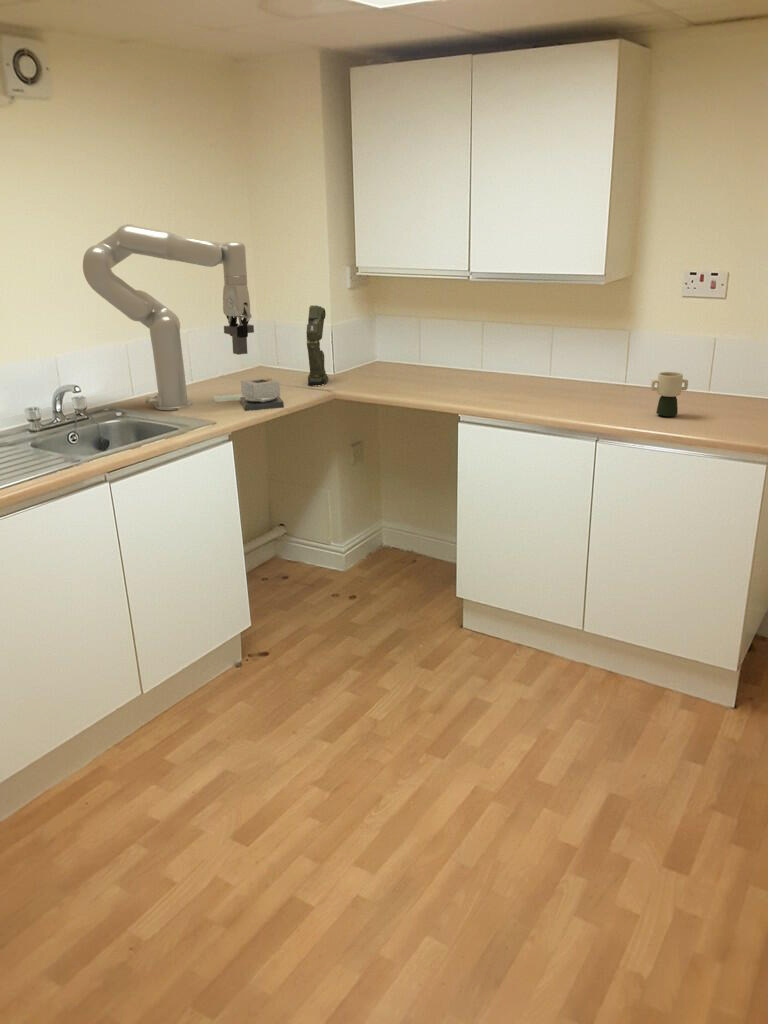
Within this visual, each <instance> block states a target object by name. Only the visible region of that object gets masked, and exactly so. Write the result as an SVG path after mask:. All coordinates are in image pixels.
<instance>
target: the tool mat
mask: <svg viewBox="0 0 768 1024" xmlns="http://www.w3.org/2000/svg"><path fill="white" fill-rule="evenodd" d="M212 397H213V398H212V399H213V400H214V402H215V403H221V402H234V401H236V402H237V401H240V397H245V396H242V393H237V394H226V395H224V394H223V395H214V396H213V395H212Z"/></svg>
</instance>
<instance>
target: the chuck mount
mask: <svg viewBox="0 0 768 1024" xmlns="http://www.w3.org/2000/svg"><path fill="white" fill-rule="evenodd" d="M239 401H240V403H241V405H242V406H243V408H244V411H245V412H248V411H249V412H250V410H251V411H260V410H272V409H282V408H283V409H284V407H285V405H284V400H283V399H282V398H281V396H277V399H275V400H272V401H267V402H249V401H246V400H245V397H240V400H239Z"/></svg>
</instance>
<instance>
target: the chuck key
mask: <svg viewBox="0 0 768 1024" xmlns="http://www.w3.org/2000/svg"><path fill="white" fill-rule="evenodd" d="M239 326H240V324H238V325H230V326H229V325H223V333H224V334H227V335H229V336H230V335H232V336H231V339H232V354H234V355H247V354H248V340H247V339H248V337H244V338H240V337H239ZM247 328H248V334H251V333H254V332H255V327H254V325H253V324H249V323H248V325H247Z"/></svg>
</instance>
